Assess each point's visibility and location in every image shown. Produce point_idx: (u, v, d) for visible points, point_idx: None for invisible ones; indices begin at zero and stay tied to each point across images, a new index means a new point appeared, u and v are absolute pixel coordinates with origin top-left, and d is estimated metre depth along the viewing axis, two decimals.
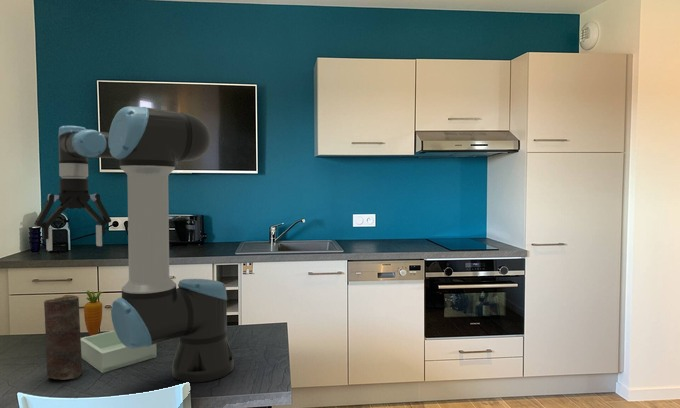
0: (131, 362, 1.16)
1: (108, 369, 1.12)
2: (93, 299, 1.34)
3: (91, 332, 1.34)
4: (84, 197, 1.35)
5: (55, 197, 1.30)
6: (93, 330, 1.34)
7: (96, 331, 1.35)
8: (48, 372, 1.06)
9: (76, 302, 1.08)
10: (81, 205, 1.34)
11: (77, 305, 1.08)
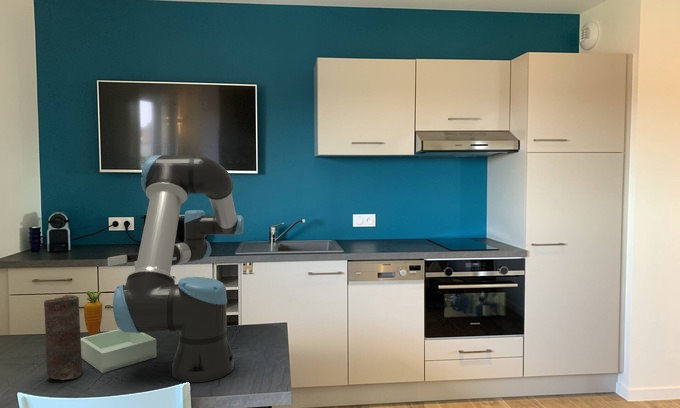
0: (131, 362, 1.16)
1: (108, 369, 1.12)
2: (93, 299, 1.34)
3: (91, 332, 1.34)
4: None
5: None
6: (93, 330, 1.34)
7: (96, 331, 1.35)
8: (48, 372, 1.06)
9: (76, 302, 1.08)
10: None
11: (77, 305, 1.08)
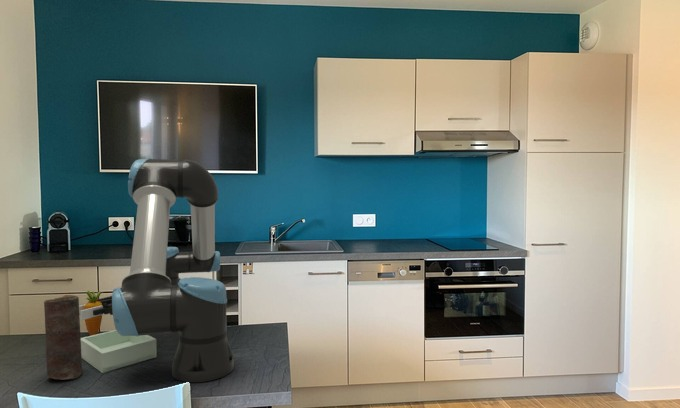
0: (131, 362, 1.16)
1: (108, 369, 1.12)
2: (93, 299, 1.34)
3: (91, 332, 1.34)
4: None
5: None
6: (93, 330, 1.34)
7: (96, 331, 1.35)
8: (48, 372, 1.06)
9: (76, 302, 1.08)
10: None
11: (77, 305, 1.08)
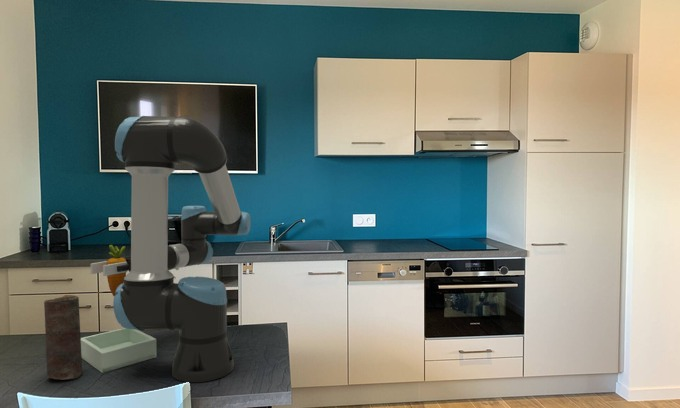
0: (131, 362, 1.16)
1: (108, 369, 1.12)
2: (117, 254, 1.20)
3: (114, 291, 1.20)
4: None
5: None
6: None
7: None
8: (48, 372, 1.06)
9: (76, 302, 1.08)
10: None
11: (77, 305, 1.08)
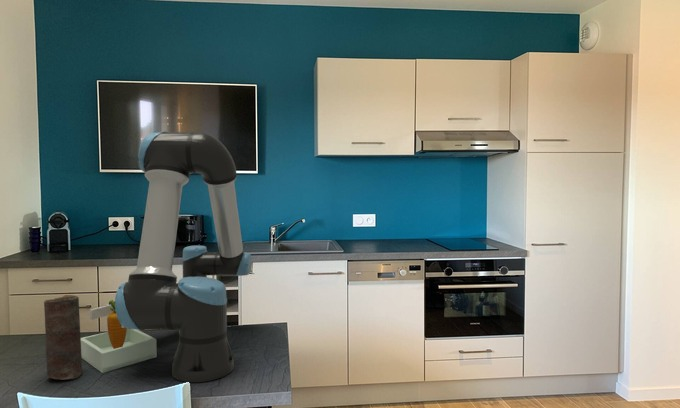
0: (131, 362, 1.16)
1: (108, 369, 1.12)
2: None
3: (115, 346, 1.20)
4: None
5: None
6: (117, 344, 1.20)
7: (121, 345, 1.21)
8: (48, 372, 1.06)
9: (76, 302, 1.08)
10: None
11: (77, 305, 1.08)
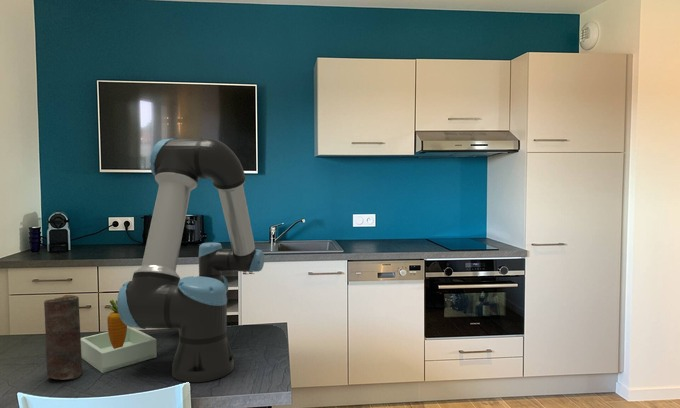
0: (131, 362, 1.16)
1: (108, 369, 1.12)
2: (117, 309, 1.20)
3: (115, 346, 1.20)
4: None
5: None
6: (117, 344, 1.20)
7: (121, 345, 1.21)
8: (48, 372, 1.06)
9: (76, 302, 1.08)
10: None
11: (77, 305, 1.08)
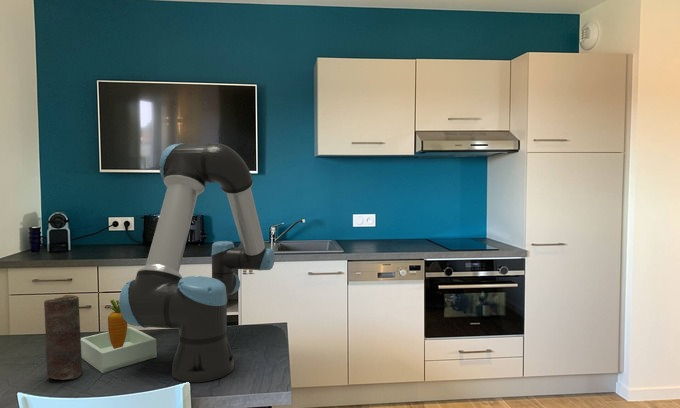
0: (131, 362, 1.16)
1: (108, 369, 1.12)
2: (118, 309, 1.21)
3: (115, 346, 1.20)
4: None
5: None
6: (117, 344, 1.20)
7: (121, 344, 1.21)
8: (48, 372, 1.06)
9: (76, 302, 1.08)
10: None
11: (77, 305, 1.08)
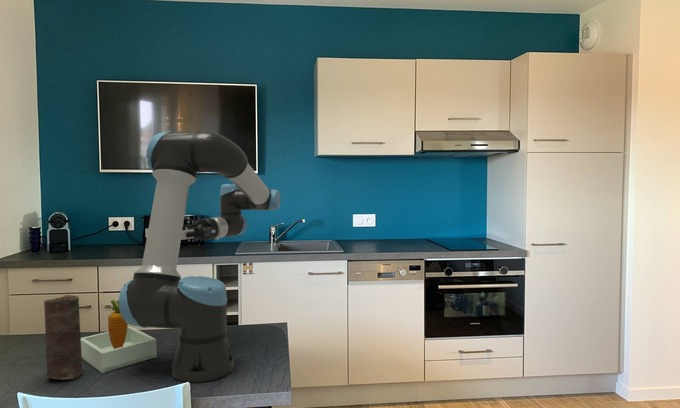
0: (131, 362, 1.16)
1: (108, 369, 1.12)
2: (118, 309, 1.20)
3: (115, 346, 1.20)
4: (203, 227, 1.48)
5: (188, 227, 1.52)
6: (118, 344, 1.20)
7: (121, 345, 1.21)
8: (48, 372, 1.06)
9: (76, 302, 1.08)
10: (196, 227, 1.47)
11: (77, 305, 1.08)
